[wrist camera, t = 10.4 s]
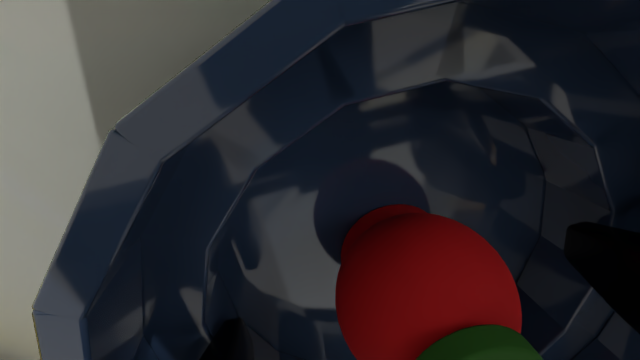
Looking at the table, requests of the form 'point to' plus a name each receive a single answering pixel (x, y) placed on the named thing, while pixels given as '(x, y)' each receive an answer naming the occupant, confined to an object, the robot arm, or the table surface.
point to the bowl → (354, 173)
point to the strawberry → (426, 291)
